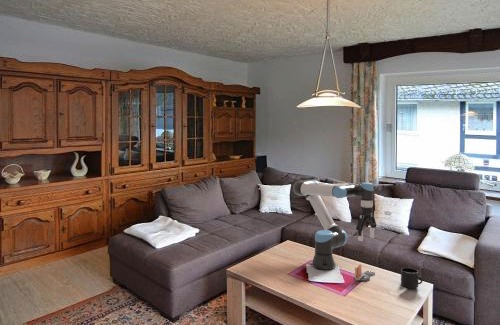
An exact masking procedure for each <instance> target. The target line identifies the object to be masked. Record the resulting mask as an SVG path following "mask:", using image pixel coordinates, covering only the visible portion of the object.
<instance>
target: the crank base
mask: <svg viewBox="0 0 500 325" xmlns="http://www.w3.org/2000/svg"><path fill="white" fill-rule="evenodd" d="M356 278H357V267H354V281H355V282H369V281H370V280H371V276H368V275H366V277H363V278H362V279H361V280H356Z"/></svg>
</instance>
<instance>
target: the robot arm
mask: <svg viewBox="0 0 500 325" xmlns="http://www.w3.org/2000/svg"><path fill="white" fill-rule="evenodd" d="M292 190H293V193H294V194H295V195H297V196H300V197H302V196H303V197H305V199H306V201H309V203H310V204H311V207H312V208H313V210H314V212H315V214H316V216H317V218H318V220H319V221H320V223H321V225H322V228H323V229H321V230H317V231H316V232H315V233H314V255H313V259H312V261H311V262H312V264H311V266H312V265H313V266H315V267H317V268H316V269H318V268H321V269H320V270H331V268H332V269H334V268H335V267H336V262H335V260H334V257H333V256H334V255H333V249H337V248H340V247H342V246H345V245H346V243H347V240H348V234H347V232H346V231H345V230H344V229H343V228H340V226H339V224H336V223H335V221H334V219H333V218H332V215H331V213H330V211H329V210H328V208H327V207H326V205H325V202H324V200H323V199H322V197H330V198H331V197H334V198H336V199H343V198H350V197H359V198H360V213H362V214H359V215H358V220H357V224H356V227H355V230H356V231H357V232H358V234H357V235H358V236H357V237H358V238H357V239H358V240H357V241H358V242H363V238H364V230H363V229H364V226H365V225H366V223H367V222H368V224H369V226H370V227H369V238H372V239H374V238H375V229H376V228H377V222H376V218H375V213H374V208H373V207H374V184H373V183H372V182H361V184H360V185H359V184H358V185H357V184H352V183H351V184H345V185H334V184H332V185H331V184H320V183H319V181H318V180H316V179H311V178H310V179H309V178H308V179H300V180H296V181H295V182H294V183H293V186H292ZM321 196H322V197H321ZM313 266H312V267H313ZM315 267H314V268H315ZM333 267H334V268H333Z"/></svg>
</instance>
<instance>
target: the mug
mask: <svg viewBox="0 0 500 325" xmlns="http://www.w3.org/2000/svg"><path fill="white" fill-rule="evenodd" d="M419 280H420V282H419ZM421 284H423V279H422V277H421V276H419V270H418V269H416V268H411V267H403V268H401V269H400V285H401V286H402V287H404V288H407V289H418V287H419V285H421Z"/></svg>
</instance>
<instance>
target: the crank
mask: <svg viewBox="0 0 500 325" xmlns="http://www.w3.org/2000/svg"><path fill="white" fill-rule="evenodd" d="M356 268H357V278H356V280H361V279H362V278H363V277H366V274H364V272H362V264H359V265H358V266H357V267H356Z"/></svg>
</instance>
